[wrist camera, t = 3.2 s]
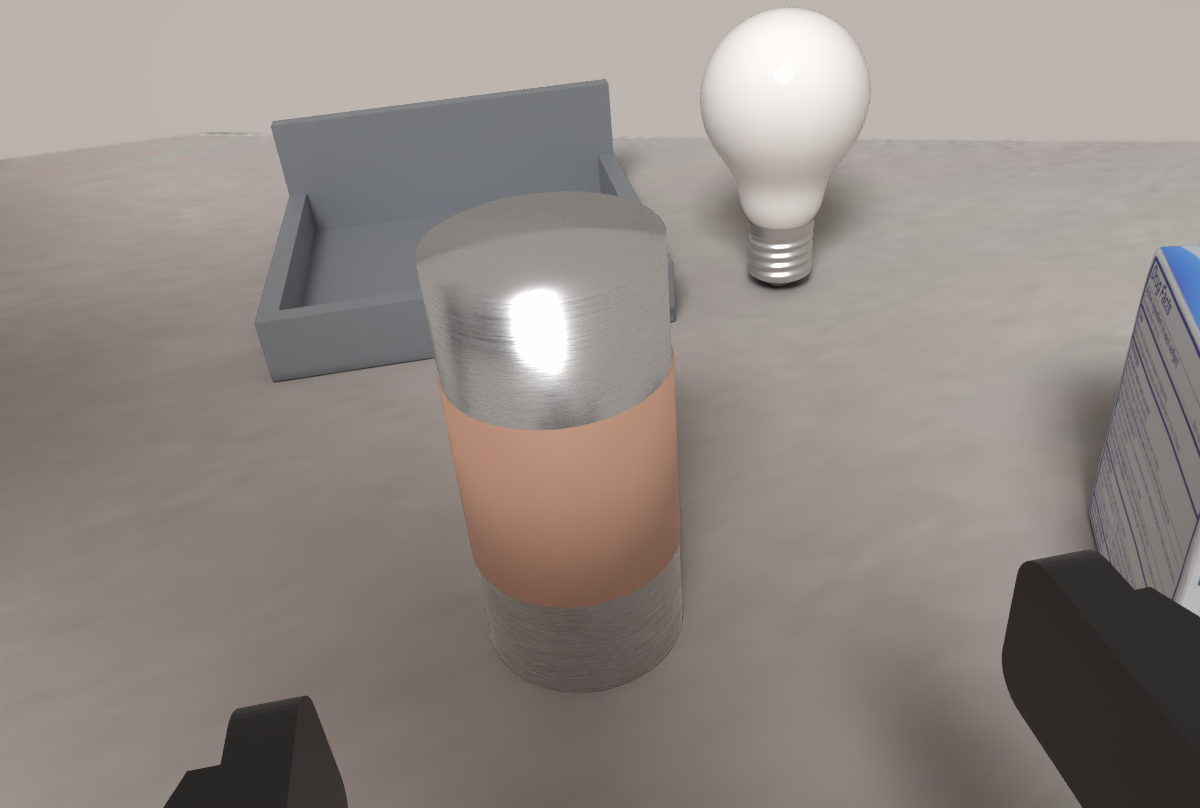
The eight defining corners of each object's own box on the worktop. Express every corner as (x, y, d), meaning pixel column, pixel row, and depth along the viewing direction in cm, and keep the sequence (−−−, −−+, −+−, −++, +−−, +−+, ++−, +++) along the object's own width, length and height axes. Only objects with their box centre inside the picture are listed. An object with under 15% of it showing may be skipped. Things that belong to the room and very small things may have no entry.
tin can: (496, 711, 24) (413, 318, 18) (482, 565, 28) (411, 208, 22) (706, 672, 24) (696, 275, 18) (660, 534, 29) (640, 177, 23)
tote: (272, 382, 38) (227, 239, 34) (304, 238, 49) (272, 121, 46) (675, 320, 39) (669, 178, 36) (614, 195, 51) (605, 79, 47)
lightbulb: (722, 245, 45) (720, -9, 39) (864, 255, 43) (885, -12, 37) (687, 310, 40) (678, 31, 34) (845, 324, 38) (866, 31, 32)
